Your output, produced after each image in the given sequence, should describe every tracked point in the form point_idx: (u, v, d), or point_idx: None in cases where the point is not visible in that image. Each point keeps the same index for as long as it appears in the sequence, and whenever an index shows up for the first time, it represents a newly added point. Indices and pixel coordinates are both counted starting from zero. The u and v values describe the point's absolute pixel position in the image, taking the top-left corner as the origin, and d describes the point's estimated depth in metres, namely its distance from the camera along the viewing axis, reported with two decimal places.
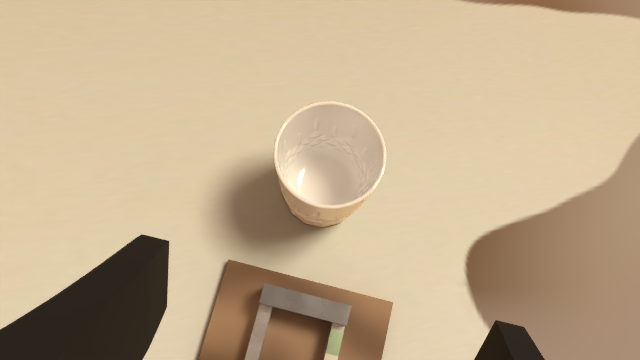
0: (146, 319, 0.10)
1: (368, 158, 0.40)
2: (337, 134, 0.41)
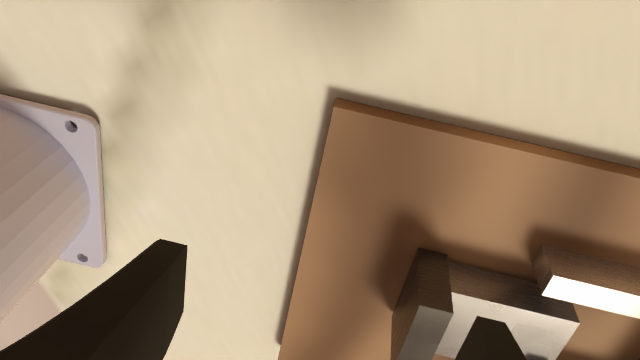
0: (165, 324, 0.10)
1: None
2: None
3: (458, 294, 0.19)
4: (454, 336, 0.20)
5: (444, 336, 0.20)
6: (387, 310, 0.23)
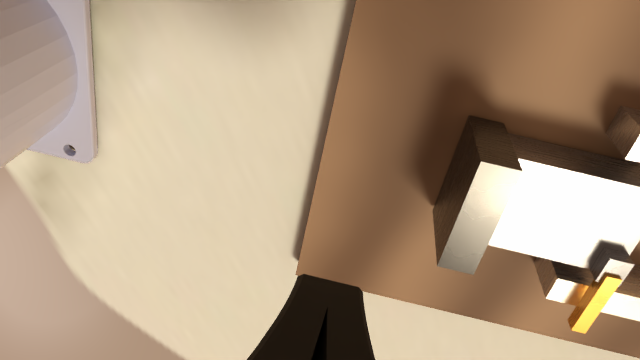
0: None
1: None
2: None
3: (522, 160, 0.16)
4: (513, 220, 0.17)
5: (501, 220, 0.17)
6: (427, 204, 0.19)
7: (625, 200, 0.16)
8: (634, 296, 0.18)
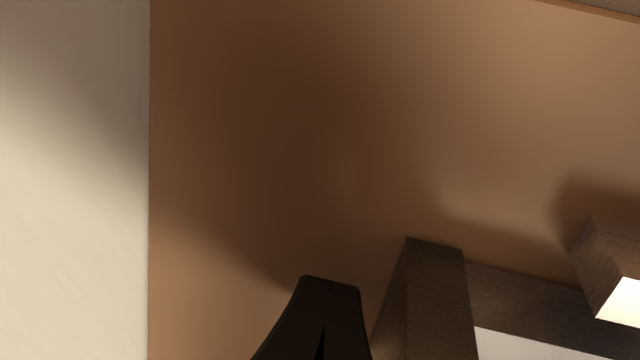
0: None
1: None
2: None
3: (487, 331, 0.09)
4: None
5: None
6: None
7: None
8: None
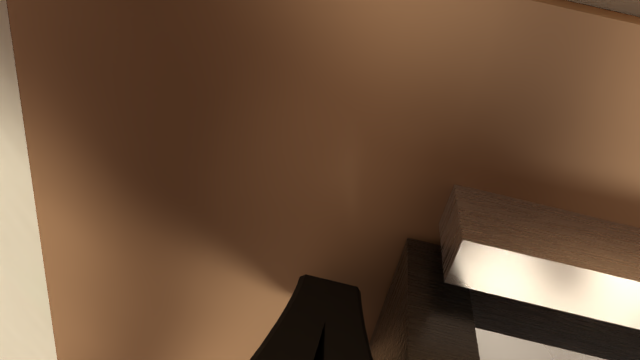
0: None
1: None
2: None
3: (488, 332, 0.09)
4: None
5: None
6: (206, 312, 0.13)
7: None
8: None
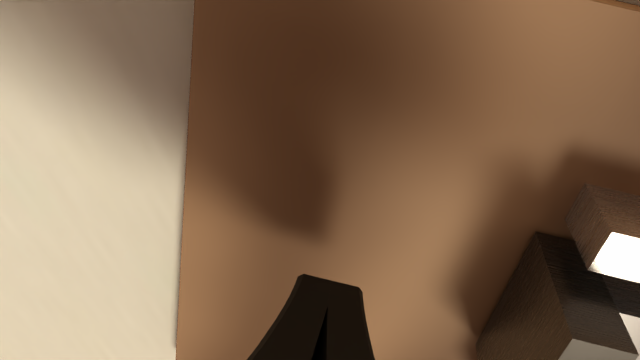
0: None
1: None
2: None
3: (624, 315, 0.10)
4: None
5: None
6: None
7: None
8: None
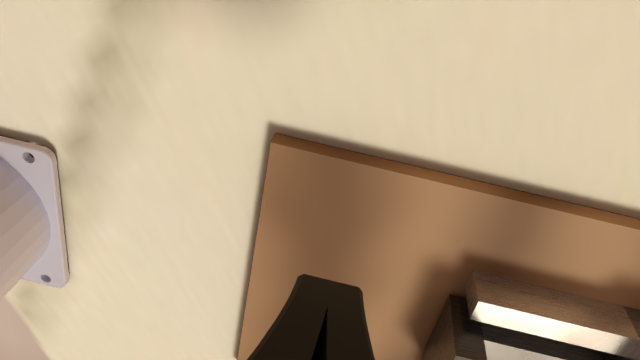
0: None
1: None
2: None
3: (489, 342, 0.20)
4: None
5: None
6: None
7: None
8: None
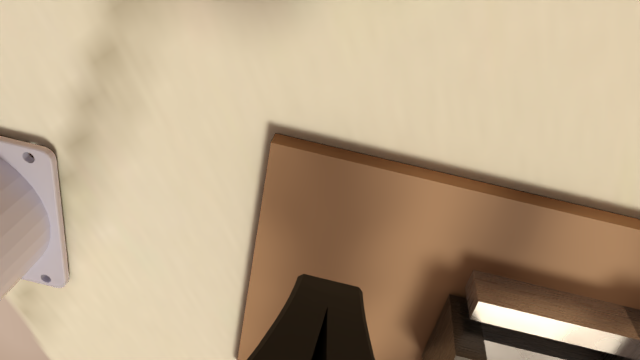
0: None
1: None
2: None
3: (489, 342, 0.20)
4: None
5: None
6: None
7: None
8: None
